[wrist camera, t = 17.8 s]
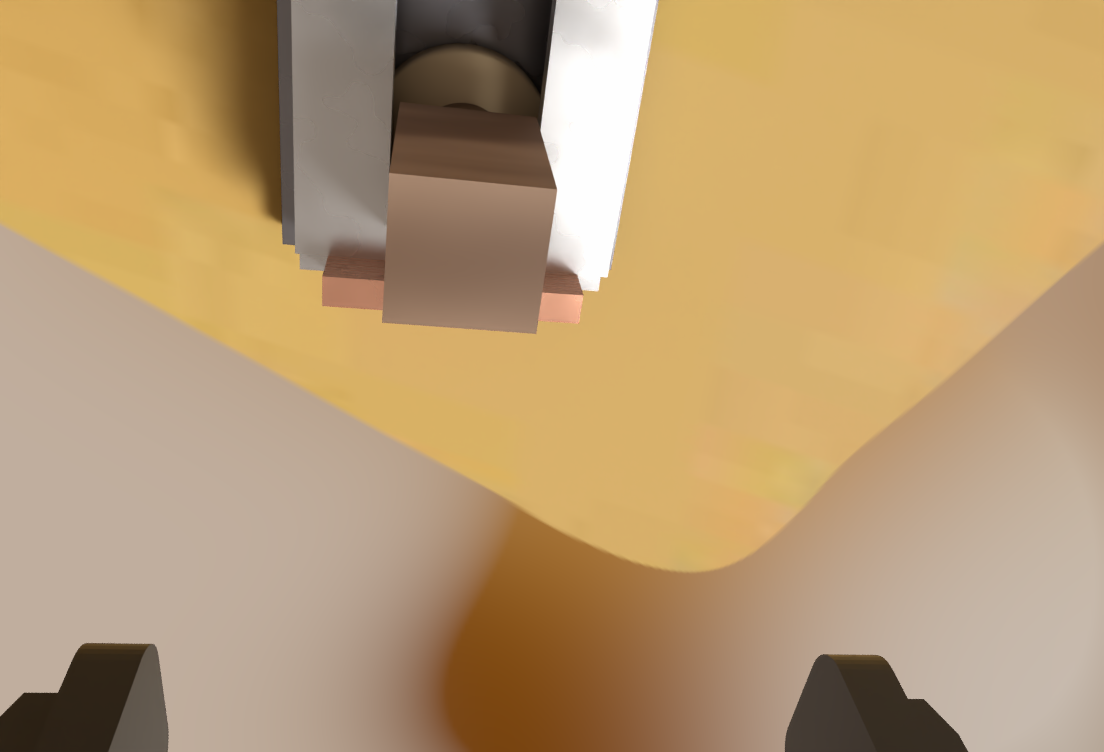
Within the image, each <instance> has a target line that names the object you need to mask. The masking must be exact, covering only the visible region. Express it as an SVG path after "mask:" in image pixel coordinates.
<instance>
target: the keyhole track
mask: <svg viewBox="0 0 1104 752" xmlns="http://www.w3.org/2000/svg"><path fill="white" fill-rule="evenodd" d="M658 1H659V0H277V26H278V68H279V110H280V152H281V194H282V236H283V244H288V245H295V253H296V254H300V269H307V270H320V271H324V273H323V276H322V306H330V307H345V308H359V309H374V310H383V296H384V274H385V253H386V232H387V210H388V189H389V171H390V165H391V149H392V124H393V99H394V74H395V70H396V69H397V68H398V67H399V66H400V65H401V64H402V63H403V62H405V61H406V60H407V59H409V58H410V57H412V56H413V55H415V54H417V53H419V52H421V51H423V50H426V49H428V48H431V47H434V46H439V45H443V44H453V43H463V44H473V45H478V46H482V47H485V48H488V49H491V50H494V51H496V52H498V53H500V54H502V55H504V56H505V57H507V58H508V59H510V60H511V61H513V62H514V63H515V64H516V65H518V66H519V67H520V68H521V69H522V70H523V71H524V72H525V73H526V74H527V76H528V77H529V78H530V79H531V81H532V82H533V84H534V85H535V87H536V88H537V90H538V92H539V94H540V96H541V97H540V105H539V114H538V124H539V128H540V131H541V134H542V138H543V141H544V145H545V148H546V152H547V155H548V159H549V162H550V165H551V169H552V172H553V176H554V179H555V183H556V186H557V196H556V203H555V210H554V216H553V223H552V230H551V237H550V243H549V250H548V257H547V264H546V271H545V277H544V284H543V291H542V298H541V304H540V311H539V318H538V321H549V322H564V323H579V319H580V313H581V307H582V300H583V293H582V290H590V291H598V289H599V284H600V278H601V277H607V276H608V270H611V266H612V260H613V254H614V249H615V243H616V237H617V232H618V226H619V221H620V215H621V209H622V204H623V198H624V192H625V187H626V181H627V176H628V170H629V164H630V159H631V153H632V147H633V142H634V136H635V131H636V125H637V119H638V114H639V108H640V102H641V97H642V91H643V86H644V80H645V74H646V69H647V63H648V57H649V52H650V46H651V41H652V35H653V29H654V24H655V18H656V12H657V7H658Z"/></svg>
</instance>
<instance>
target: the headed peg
mask: <svg viewBox="0 0 1104 752" xmlns="http://www.w3.org/2000/svg"><path fill="white" fill-rule="evenodd" d="M540 97H541V96H540V94H539V92H538V90H537V88H536V87H535V85H534V84H533V82H532V81H531V79H530V78H529V77H528V76H527V74H526V73H525V72H524V71H523V70H522V69H521V68H520V67H519V66H518V65H516V64H515V63H514V62H513V61H511V60H510V59H508V58H507V57H505V56H504V55H502V54H500V53H498V52H496V51H494V50H491V49H488V48H485V47H482V46H478V45H473V44H463V43H453V44H443V45H439V46H434V47H431V48H428V49H426V50H423V51H421V52H419V53H417V54H415V55H413V56H412V57H410V58H409V59H407V60H406V61H405V62H403V63H402V64H401V65H400V66H399V67H398V68H397V69H396V70H395V74H394V99H393V124H392V149H391V165H390V171H389V189H388V210H387V232H386V253H385V274H384V296H383V317H382V323H395V324H409V325H423V326H436V327H450V328H464V329H478V330H491V331H505V332H519V333H533V334H536V331H537V325H538V318H539V311H540V304H541V298H542V291H543V284H544V277H545V271H546V264H547V257H548V250H549V243H550V237H551V230H552V223H553V216H554V210H555V203H556V196H557V186H556V183H555V179H554V176H553V172H552V169H551V165H550V162H549V159H548V155H547V152H546V148H545V145H544V141H543V138H542V134H541V131H540V128H539V124H538V114H539V105H540Z"/></svg>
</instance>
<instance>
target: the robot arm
mask: <svg viewBox="0 0 1104 752" xmlns="http://www.w3.org/2000/svg"><path fill="white" fill-rule="evenodd" d="M0 752H168V723H167V716H166V708H165V701H164V694H163V686H162V679H161V672H160V664H159V657H158V652H157V648H156V647H155V645H154V644H114V643H86V644H83V645H82V646H81V647H80V648H79V649H78V651H77V652H76V654H75V656H74V658H73V660H72V662H71V665H70V667H69V669H68V671H67V674H66V676H65V678H64V681H63V683H62V686H61V687H60V690H59V692H58V693H23V694H22V696H21V697H20V698H18V699H17V700H16V701H15V702H14V703H13V704H12V706H10V707H9V708H8V709H7V710H6V711H5V712H4V713H3V714H2V715H1V716H0ZM785 752H968V751H967V749H966V747H965V745H964V744H963V742H962V740H961V738H960V736H959V735H958V733H956V731H954V729H953V728H952V727H951V726H949V724H948V723H947V722H946V721H945V720H944V719H943V718H942V717H941V716H940V715H939V714H938V713H937V712H936V711H935V710H934V709H933V708H932V707H931V706H930V705H929V704H928V703H927V702H926V701H925V700H924V699H908V698H907V696H906V695H905V693H904V691H903V689H902V687H901V685H900V683H899V681H898V679H897V677H896V676H895V673H894V672H893V670H892V668H891V666H890V665H889V663H888V662H887V661H886V660H885V659H884V658H883V657H881V656H878V655H828V654H823V655H820V656H819V657H818V658H817V659H816V661H815V662H814V665H813V667H812V669H811V672H810V674H809V677H808V679H807V682H806V684H805V687H804V689H803V692H802V694H801V697H800V699H799V702H798V704H797V707H796V709H795V712H794V714H793V717H792V719H791V722H790V724H789V727H788V730H787V733H786V741H785Z"/></svg>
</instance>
